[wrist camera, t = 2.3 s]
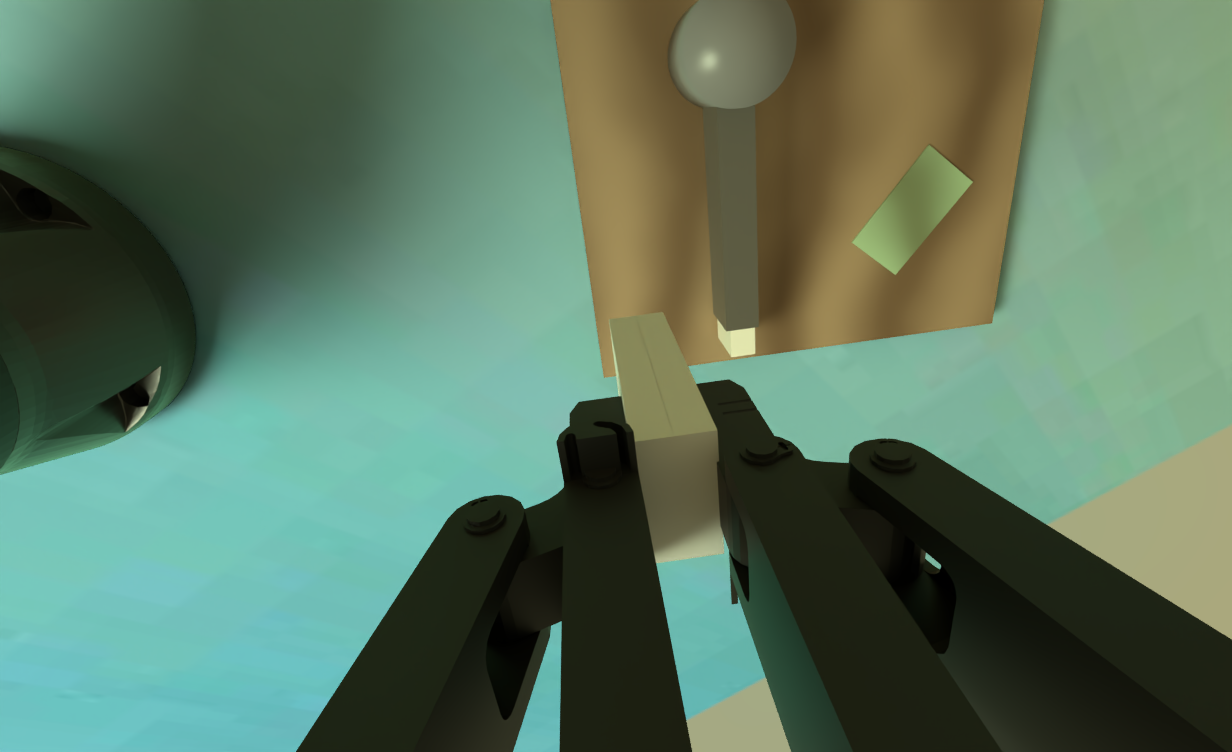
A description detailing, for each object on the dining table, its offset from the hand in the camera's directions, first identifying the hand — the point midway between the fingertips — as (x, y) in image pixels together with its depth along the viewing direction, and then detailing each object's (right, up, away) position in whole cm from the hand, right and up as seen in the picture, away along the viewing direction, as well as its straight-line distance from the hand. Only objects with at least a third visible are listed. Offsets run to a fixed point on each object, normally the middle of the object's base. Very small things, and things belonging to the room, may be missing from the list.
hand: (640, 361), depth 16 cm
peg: (+4, +9, +12) cm, 16 cm away
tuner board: (+8, +10, +13) cm, 19 cm away
